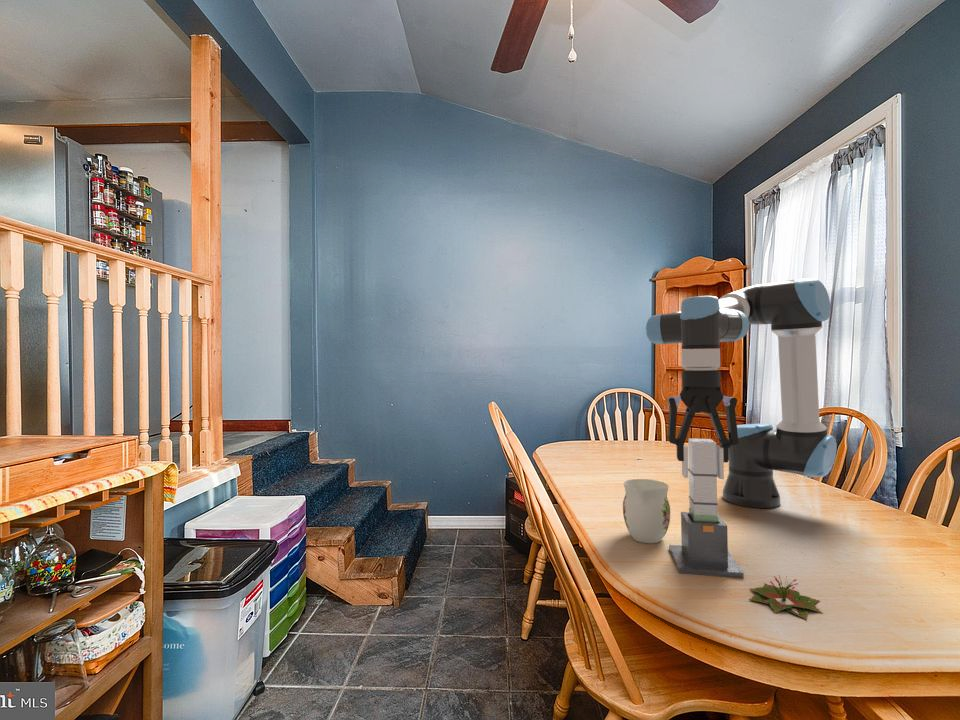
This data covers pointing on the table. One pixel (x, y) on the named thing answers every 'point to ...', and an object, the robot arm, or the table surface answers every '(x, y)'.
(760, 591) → the lily flower
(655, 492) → the pitcher
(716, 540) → the stand
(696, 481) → the column
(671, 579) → the table surface
